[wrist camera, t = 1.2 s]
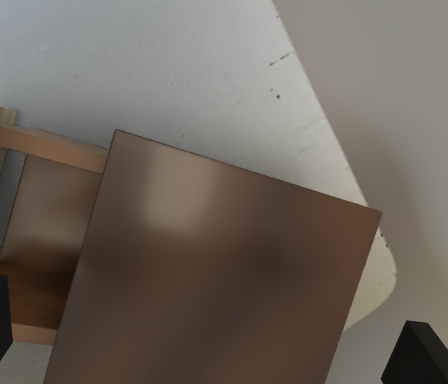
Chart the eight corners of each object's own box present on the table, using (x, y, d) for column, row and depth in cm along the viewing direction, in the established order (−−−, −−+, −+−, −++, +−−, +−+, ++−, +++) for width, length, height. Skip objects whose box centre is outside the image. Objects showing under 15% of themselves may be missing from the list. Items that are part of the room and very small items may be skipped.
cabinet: (75, 295, 25) (40, 389, 16) (122, 132, 24) (115, 128, 15) (254, 328, 29) (312, 419, 19) (300, 187, 28) (383, 212, 19)
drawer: (-131, 254, 21) (-280, 320, 13) (-88, 78, 20) (-219, 42, 13) (154, 307, 25) (163, 378, 18) (197, 164, 25) (225, 176, 17)
